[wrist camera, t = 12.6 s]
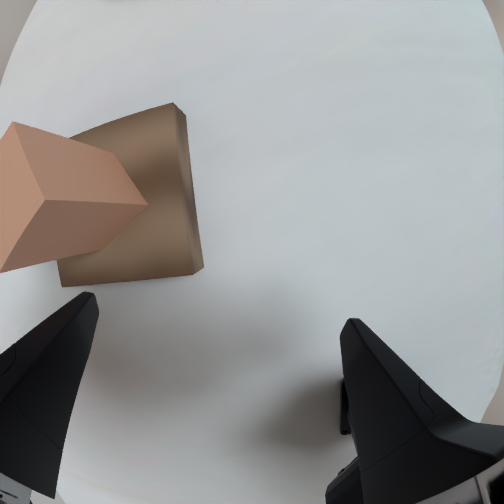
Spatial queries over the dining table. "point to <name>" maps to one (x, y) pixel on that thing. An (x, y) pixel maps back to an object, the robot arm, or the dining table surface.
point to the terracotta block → (59, 197)
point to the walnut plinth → (155, 194)
